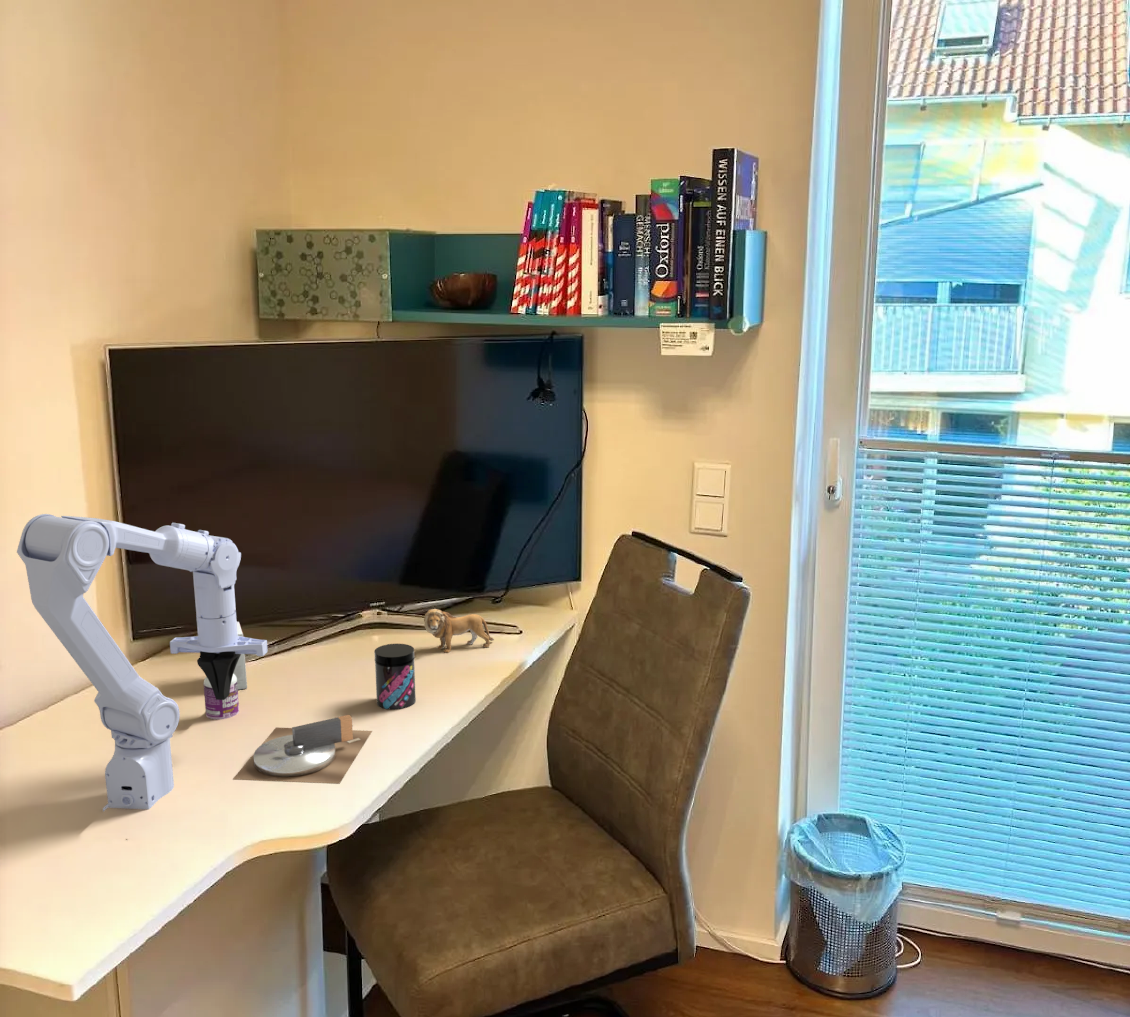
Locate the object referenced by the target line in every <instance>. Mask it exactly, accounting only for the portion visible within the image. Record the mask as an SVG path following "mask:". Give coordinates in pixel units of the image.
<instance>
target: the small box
mask: <svg viewBox="0 0 1130 1017" xmlns="http://www.w3.org/2000/svg"><path fill="white" fill-rule="evenodd" d="M237 634H238V636H241V637H244V632H243V629H242V627H241V624H240V621H237ZM245 655H246V654H241V656H240V658H239V660H238V662H237V665H236V667H235V670H234V673H233V674H235V676H236V677H237V686H238V691H240V690H243V689H244V690H245V689H248V682H247V681H248V680H247V667H246V656H245Z"/></svg>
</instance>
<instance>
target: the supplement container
mask: <svg viewBox="0 0 1130 1017" xmlns="http://www.w3.org/2000/svg"><path fill="white" fill-rule="evenodd" d="M373 654H374V669H375V687H376V688H375V691H376V692H375V693H376V705H377V707H379V708H381V709H385V710H393V711H395V710H403V709H407V708H410V707H412V706H413V705H415V704H416V700H417V697H416V675H415V674H416V672H415V647H413V646H412V645H410V644H406V643H388V644H387V643H386V644H383V645H380V646H378V647H376V648H375V649H374V653H373Z"/></svg>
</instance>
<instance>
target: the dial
mask: <svg viewBox="0 0 1130 1017" xmlns="http://www.w3.org/2000/svg"><path fill="white" fill-rule="evenodd" d="M291 728H292V733H293V735H288V736H283V737H279V738H276V739H273V740H270V741H268V742H266V743H264V744H262V743H261V745H260V746H258V747H257V748H256V749H255V751H254V753H253V754H254V766H255V767H256V769H257V770H259V771H260V772H262V773H264V774H267V775H272V776H280V777H289V776H299V775H305V774H309V773H312V772H315V771H318V770H320V769H322V768H324V767H326V766H328V765H329V764H330V763H331V762H332V761H333V760H334V758H335V745H334V743H338V742H343V741H348V740H352V739H353V731H352V730H353V718H352V715H350V714H346V715H342V716H338V717H333V718H329V719H325V720H324V719H323V720H319V721H315V722H311V723H306V724H301V725H297V726H293V727H291Z"/></svg>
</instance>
